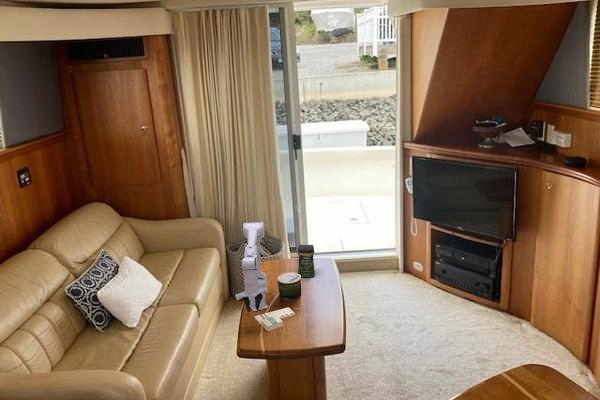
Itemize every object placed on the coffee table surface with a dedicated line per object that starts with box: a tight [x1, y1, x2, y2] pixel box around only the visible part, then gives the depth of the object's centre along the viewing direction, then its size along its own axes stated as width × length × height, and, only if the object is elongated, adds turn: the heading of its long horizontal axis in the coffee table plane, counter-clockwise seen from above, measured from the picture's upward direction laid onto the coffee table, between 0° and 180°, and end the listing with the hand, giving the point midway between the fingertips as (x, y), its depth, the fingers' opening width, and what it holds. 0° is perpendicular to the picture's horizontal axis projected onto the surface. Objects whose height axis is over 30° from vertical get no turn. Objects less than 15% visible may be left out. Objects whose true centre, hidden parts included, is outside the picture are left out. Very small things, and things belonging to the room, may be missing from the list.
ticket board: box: [254, 307, 296, 326], centre depth 236 cm, size 7×18×1 cm, turn 116°
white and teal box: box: [261, 316, 284, 332], centre depth 228 cm, size 6×8×4 cm
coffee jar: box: [297, 244, 316, 279], centre depth 279 cm, size 10×8×19 cm
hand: (252, 310), depth 221 cm, fingers open, 3 cm apart
